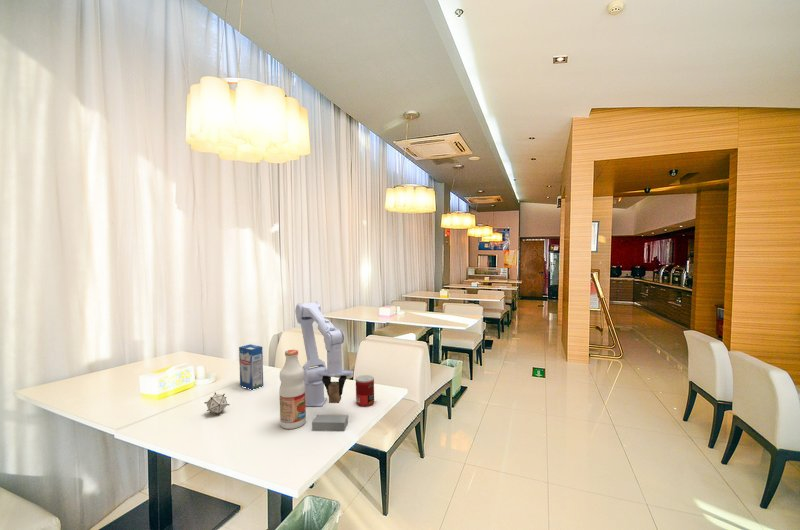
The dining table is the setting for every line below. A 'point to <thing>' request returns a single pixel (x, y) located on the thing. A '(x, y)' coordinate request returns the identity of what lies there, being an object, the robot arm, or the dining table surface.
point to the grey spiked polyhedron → (216, 403)
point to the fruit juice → (292, 392)
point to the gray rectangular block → (330, 422)
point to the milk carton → (251, 366)
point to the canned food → (365, 390)
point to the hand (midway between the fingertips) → (335, 394)
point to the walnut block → (334, 392)
